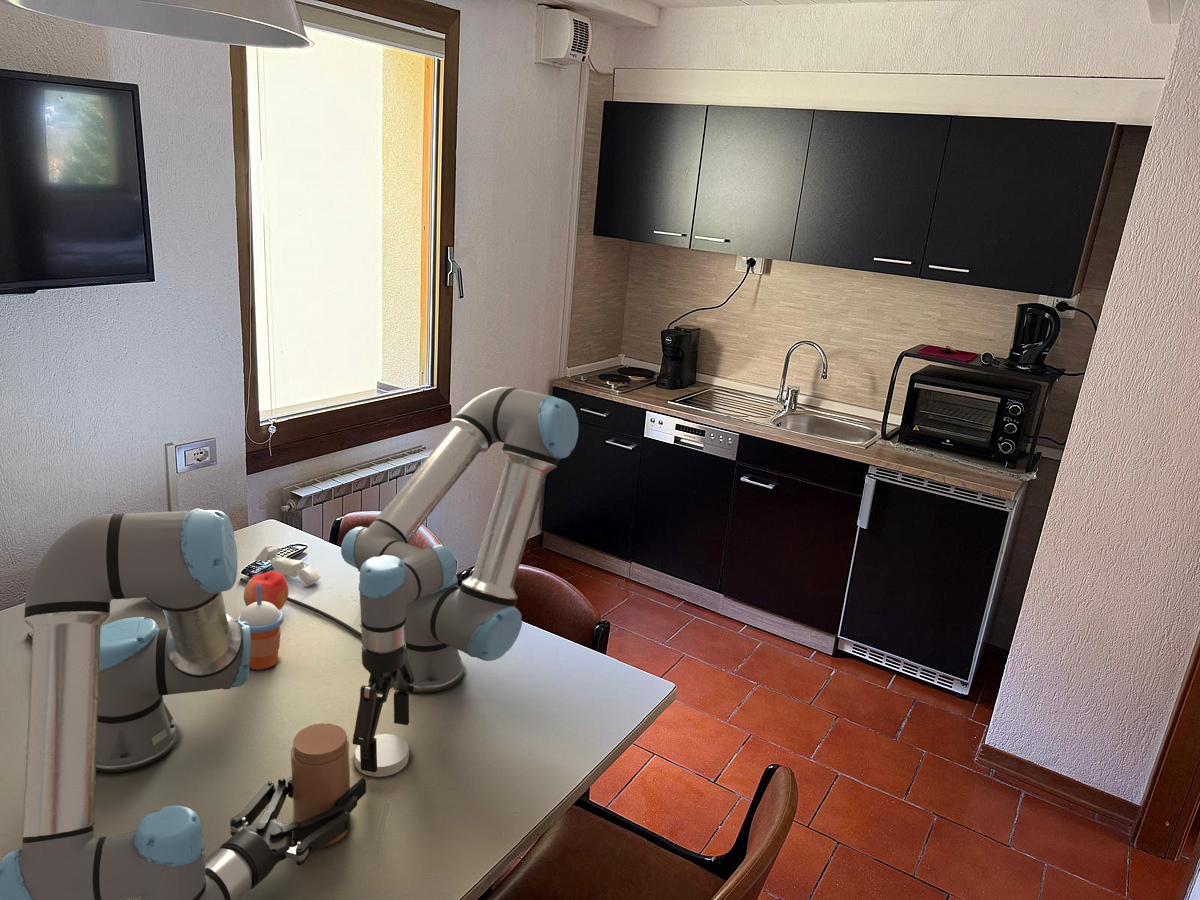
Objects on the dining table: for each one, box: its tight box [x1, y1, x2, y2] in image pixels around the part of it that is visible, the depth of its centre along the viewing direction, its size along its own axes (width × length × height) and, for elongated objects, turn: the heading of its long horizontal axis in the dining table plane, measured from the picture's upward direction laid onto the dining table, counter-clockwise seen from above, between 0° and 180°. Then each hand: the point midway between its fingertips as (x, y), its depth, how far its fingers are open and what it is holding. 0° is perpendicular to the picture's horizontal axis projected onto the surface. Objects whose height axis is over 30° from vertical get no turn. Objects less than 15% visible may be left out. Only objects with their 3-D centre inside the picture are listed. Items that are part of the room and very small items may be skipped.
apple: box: [243, 570, 289, 611], centre depth 199 cm, size 10×10×10 cm
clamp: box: [254, 544, 322, 587], centre depth 219 cm, size 20×4×7 cm, turn 62°
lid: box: [354, 733, 410, 778], centre depth 155 cm, size 10×10×2 cm
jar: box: [290, 722, 351, 847], centre depth 136 cm, size 9×9×17 cm
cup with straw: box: [236, 584, 284, 670], centre depth 179 cm, size 9×9×18 cm
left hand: (340, 776), depth 140 cm, fingers closed on jar, 9 cm apart
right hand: (386, 745), depth 155 cm, fingers open, 13 cm apart
